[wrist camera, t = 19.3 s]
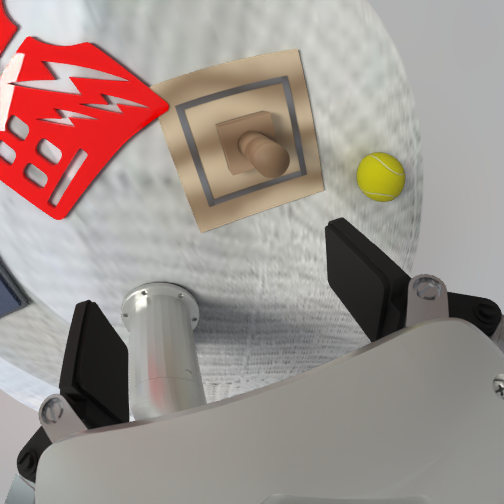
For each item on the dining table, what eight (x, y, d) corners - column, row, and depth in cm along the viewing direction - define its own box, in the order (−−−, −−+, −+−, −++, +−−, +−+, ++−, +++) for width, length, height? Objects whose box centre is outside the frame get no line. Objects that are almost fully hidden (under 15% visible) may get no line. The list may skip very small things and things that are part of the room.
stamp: (274, 155, 36) (308, 181, 28) (228, 169, 35) (249, 200, 27) (263, 110, 32) (297, 122, 24) (215, 124, 32) (233, 140, 24)
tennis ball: (356, 141, 38) (386, 155, 32) (390, 153, 40) (420, 168, 35) (342, 186, 42) (369, 206, 36) (376, 193, 44) (403, 212, 38)
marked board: (322, 189, 41) (324, 190, 40) (200, 231, 39) (201, 233, 39) (296, 49, 29) (298, 48, 29) (148, 87, 28) (147, 87, 27)
